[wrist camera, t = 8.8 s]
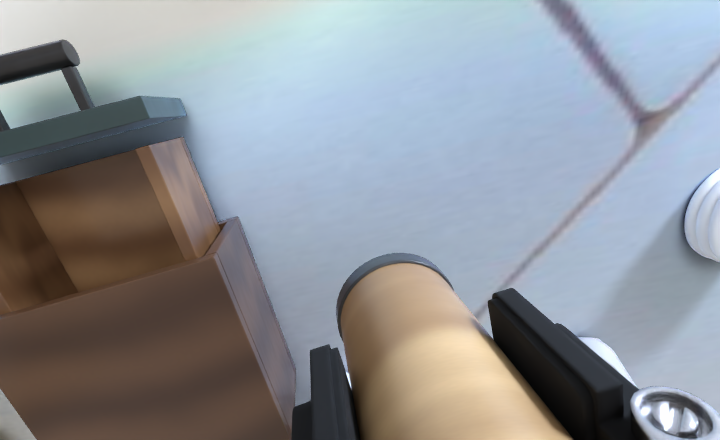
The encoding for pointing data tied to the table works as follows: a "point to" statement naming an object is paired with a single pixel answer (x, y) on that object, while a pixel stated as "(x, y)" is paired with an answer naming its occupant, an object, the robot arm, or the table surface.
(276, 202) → the table surface
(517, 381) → the tan cylindrical container
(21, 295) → the drawer
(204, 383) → the cabinet
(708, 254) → the coaster
